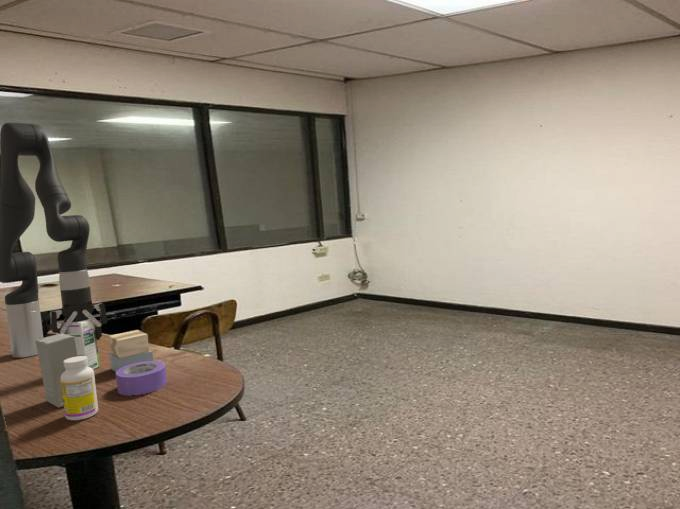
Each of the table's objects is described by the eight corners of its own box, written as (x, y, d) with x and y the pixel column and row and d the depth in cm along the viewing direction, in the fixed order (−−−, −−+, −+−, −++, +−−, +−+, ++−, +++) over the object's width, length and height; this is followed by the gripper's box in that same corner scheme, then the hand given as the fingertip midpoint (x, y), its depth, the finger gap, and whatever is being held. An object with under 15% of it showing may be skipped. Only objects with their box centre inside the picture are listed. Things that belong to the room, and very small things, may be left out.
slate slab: (111, 369, 147) (109, 352, 146) (143, 362, 152) (141, 345, 152) (120, 377, 140) (119, 359, 139) (153, 368, 145) (152, 351, 145)
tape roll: (147, 397, 123) (144, 377, 122) (107, 394, 126) (104, 375, 126) (176, 380, 134) (174, 361, 134) (139, 378, 138) (137, 360, 137)
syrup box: (87, 373, 144) (81, 322, 142) (68, 372, 145) (62, 322, 144) (100, 366, 150) (95, 317, 148) (82, 366, 151) (77, 317, 149)
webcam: (45, 342, 182) (42, 314, 181) (28, 342, 184) (25, 314, 183) (62, 336, 190) (59, 309, 189) (45, 336, 192) (42, 310, 190)
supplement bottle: (73, 410, 117) (66, 355, 116) (103, 407, 118) (97, 353, 116) (59, 423, 110) (52, 365, 109) (91, 420, 111) (84, 362, 110)
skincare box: (86, 400, 123) (79, 335, 121) (53, 410, 118) (45, 342, 116) (73, 392, 129) (66, 330, 127) (41, 401, 124) (34, 337, 122)
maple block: (110, 352, 146) (109, 335, 145) (139, 346, 151) (137, 329, 150) (119, 358, 140) (117, 340, 139) (149, 351, 145) (147, 334, 144)
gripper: (98, 281, 152) (104, 335, 154) (44, 289, 143) (51, 346, 145) (105, 283, 146) (111, 339, 148) (49, 291, 137) (56, 350, 139)
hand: (81, 342), depth 146 cm, fingers open, 8 cm apart
